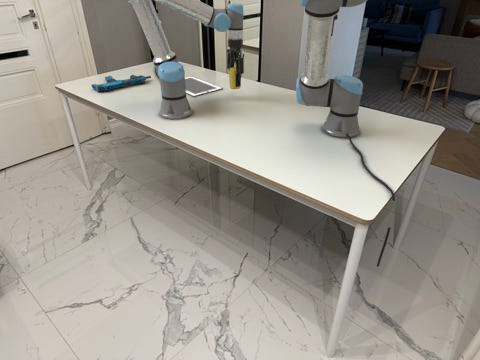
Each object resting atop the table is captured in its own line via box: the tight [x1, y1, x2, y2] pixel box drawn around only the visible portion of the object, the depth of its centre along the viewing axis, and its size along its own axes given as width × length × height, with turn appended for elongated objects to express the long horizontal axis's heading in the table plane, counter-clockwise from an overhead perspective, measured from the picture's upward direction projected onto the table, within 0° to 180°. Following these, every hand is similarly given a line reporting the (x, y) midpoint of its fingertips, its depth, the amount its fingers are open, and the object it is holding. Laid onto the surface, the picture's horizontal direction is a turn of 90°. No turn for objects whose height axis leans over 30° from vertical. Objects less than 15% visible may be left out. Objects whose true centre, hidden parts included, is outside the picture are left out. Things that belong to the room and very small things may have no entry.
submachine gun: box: [90, 74, 152, 92], centre depth 206 cm, size 34×4×25 cm
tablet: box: [185, 75, 223, 97], centre depth 203 cm, size 32×20×1 cm, turn 41°
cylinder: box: [229, 66, 241, 90], centre depth 179 cm, size 6×6×10 cm
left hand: (235, 84), depth 181 cm, fingers closed on cylinder, 6 cm apart
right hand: (323, 33), depth 161 cm, fingers open, 13 cm apart
